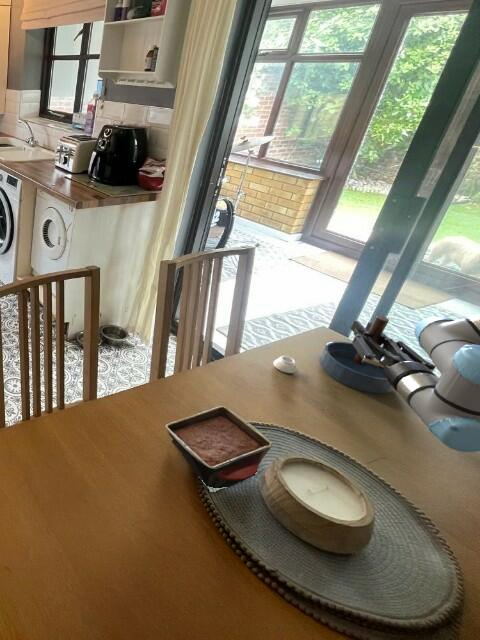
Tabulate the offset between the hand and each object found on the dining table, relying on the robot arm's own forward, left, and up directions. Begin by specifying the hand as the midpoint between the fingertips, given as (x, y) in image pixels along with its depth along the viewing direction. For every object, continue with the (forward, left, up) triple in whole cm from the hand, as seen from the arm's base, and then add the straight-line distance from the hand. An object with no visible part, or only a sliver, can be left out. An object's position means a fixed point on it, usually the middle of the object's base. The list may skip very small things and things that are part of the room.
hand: (361, 325), depth 110 cm
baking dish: (+18, +61, -11) cm, 65 cm away
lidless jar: (+12, +17, -11) cm, 23 cm away
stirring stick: (-2, +5, -8) cm, 10 cm away
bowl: (-2, +7, -11) cm, 13 cm away
